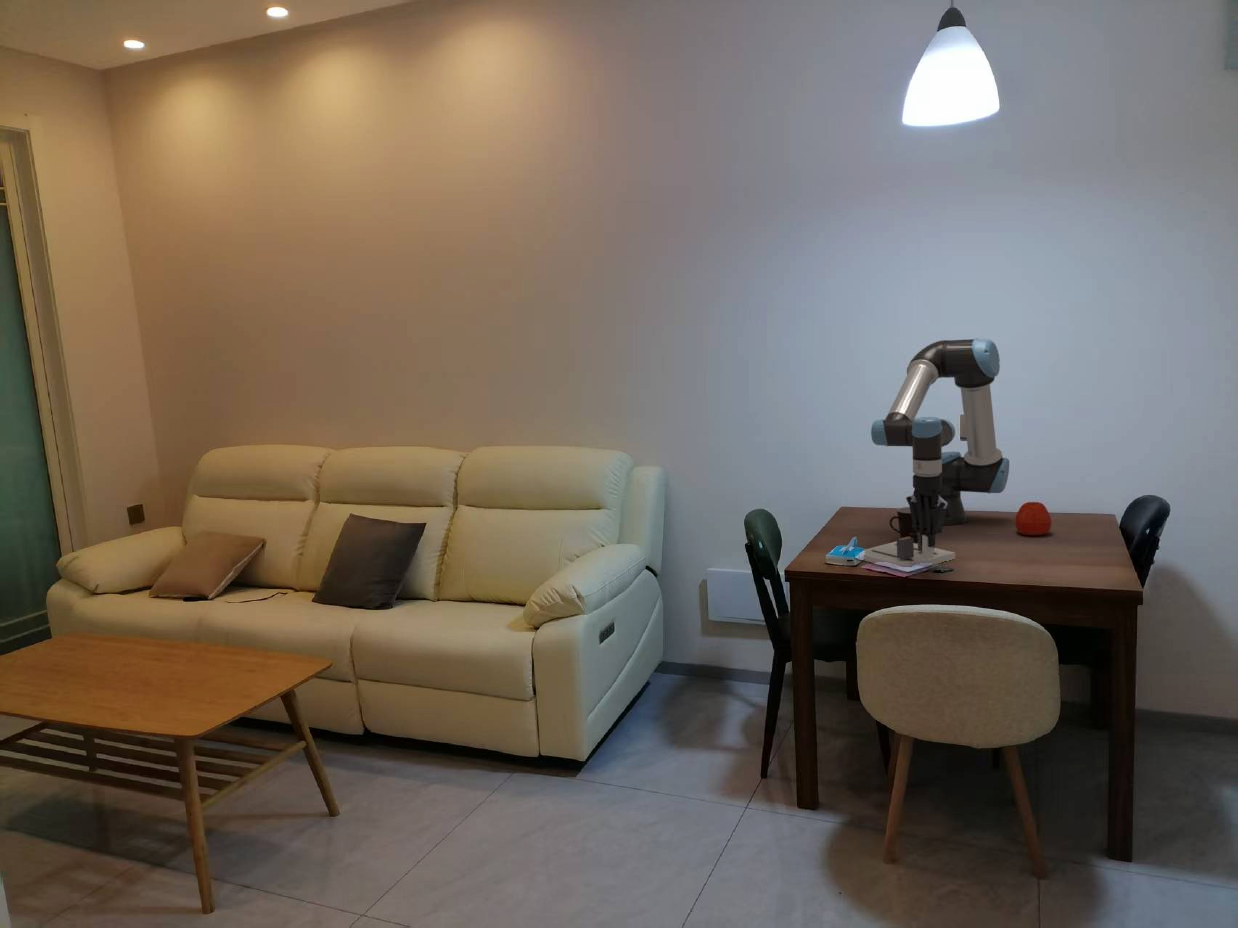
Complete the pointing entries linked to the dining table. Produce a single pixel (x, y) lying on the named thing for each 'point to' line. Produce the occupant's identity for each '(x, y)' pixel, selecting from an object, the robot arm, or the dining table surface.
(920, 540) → the block
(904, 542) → the block
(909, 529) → the coffee mug
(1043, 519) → the apple
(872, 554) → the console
